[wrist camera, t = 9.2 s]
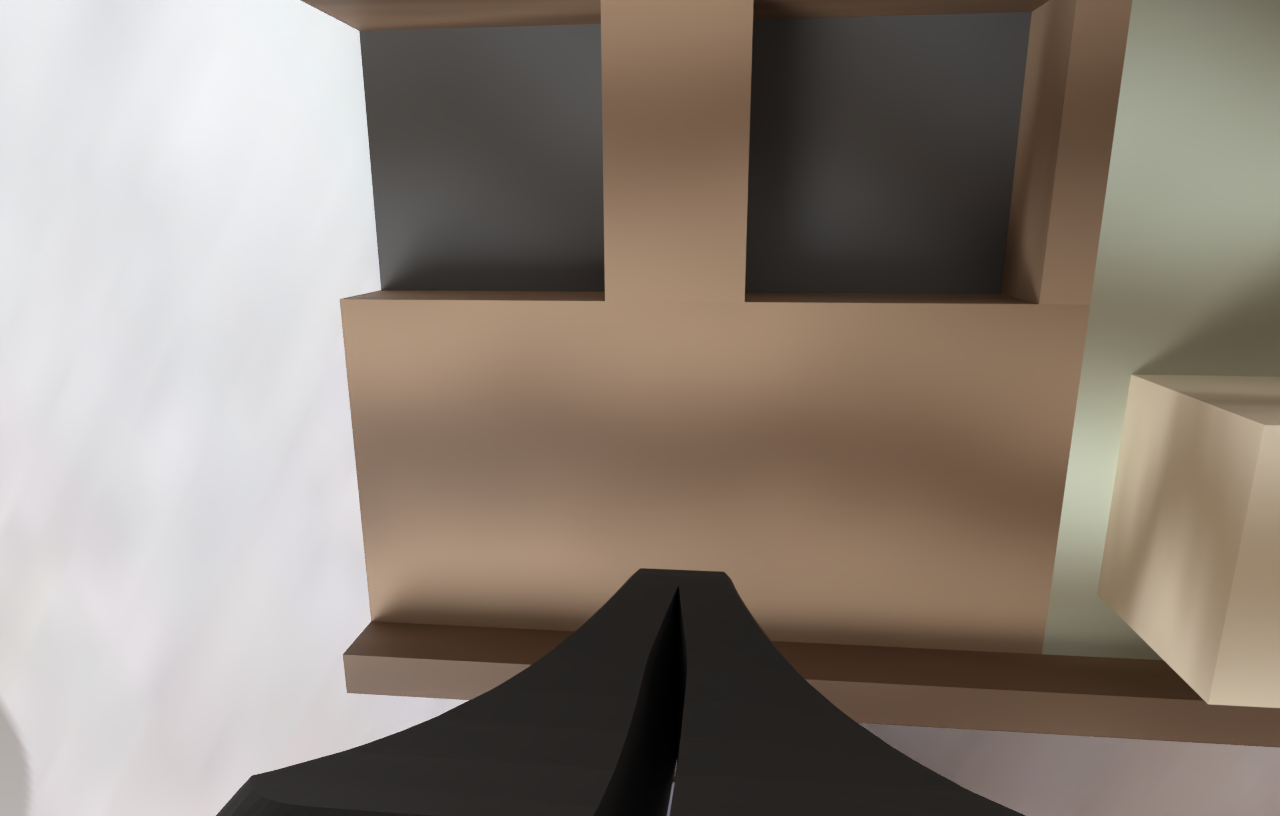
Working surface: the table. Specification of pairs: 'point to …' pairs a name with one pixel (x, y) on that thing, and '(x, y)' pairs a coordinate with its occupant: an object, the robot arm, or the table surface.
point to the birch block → (1201, 531)
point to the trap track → (800, 330)
